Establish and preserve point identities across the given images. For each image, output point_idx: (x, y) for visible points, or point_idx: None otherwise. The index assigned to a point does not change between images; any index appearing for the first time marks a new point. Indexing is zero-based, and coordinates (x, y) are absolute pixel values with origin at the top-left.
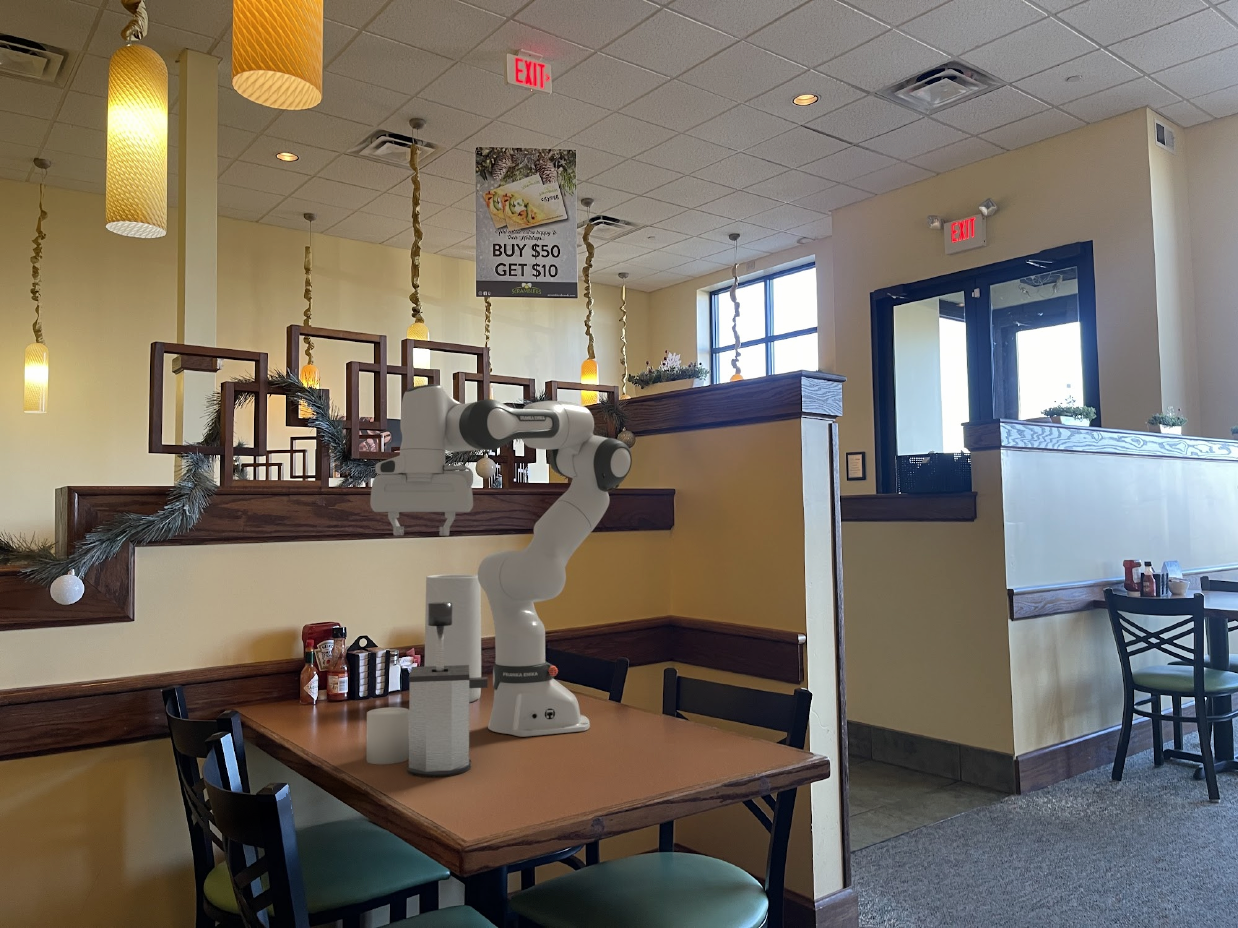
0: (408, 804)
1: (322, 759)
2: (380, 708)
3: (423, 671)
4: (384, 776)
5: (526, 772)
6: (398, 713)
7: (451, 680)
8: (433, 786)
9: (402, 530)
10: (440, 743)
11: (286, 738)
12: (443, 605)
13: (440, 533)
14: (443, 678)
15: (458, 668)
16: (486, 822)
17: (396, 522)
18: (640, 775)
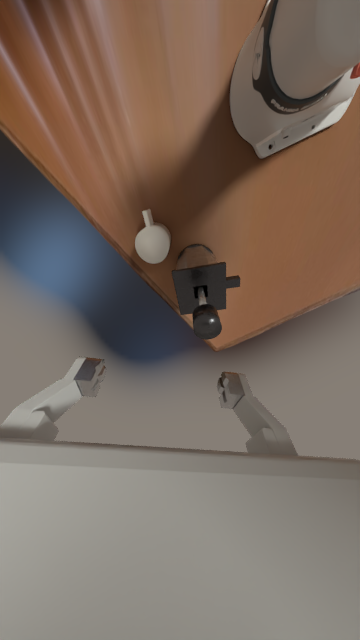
0: (190, 318)
1: (113, 240)
2: (140, 232)
3: (187, 295)
4: (167, 279)
5: (247, 273)
6: (162, 254)
7: None
8: None
9: (97, 373)
10: None
11: (35, 157)
12: (212, 337)
13: (220, 388)
14: None
15: (216, 282)
16: (223, 335)
17: (64, 401)
18: (309, 281)
